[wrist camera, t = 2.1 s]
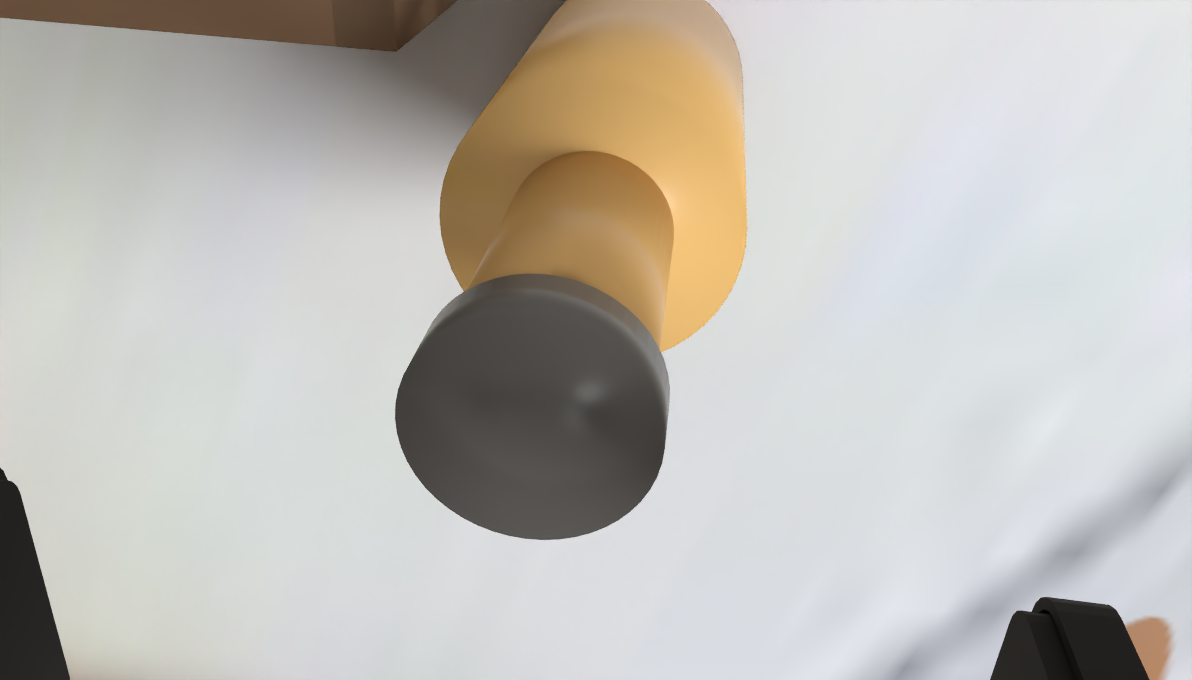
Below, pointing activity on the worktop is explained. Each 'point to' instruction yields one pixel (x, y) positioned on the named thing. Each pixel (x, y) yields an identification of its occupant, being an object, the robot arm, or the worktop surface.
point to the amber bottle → (579, 266)
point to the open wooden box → (249, 18)
